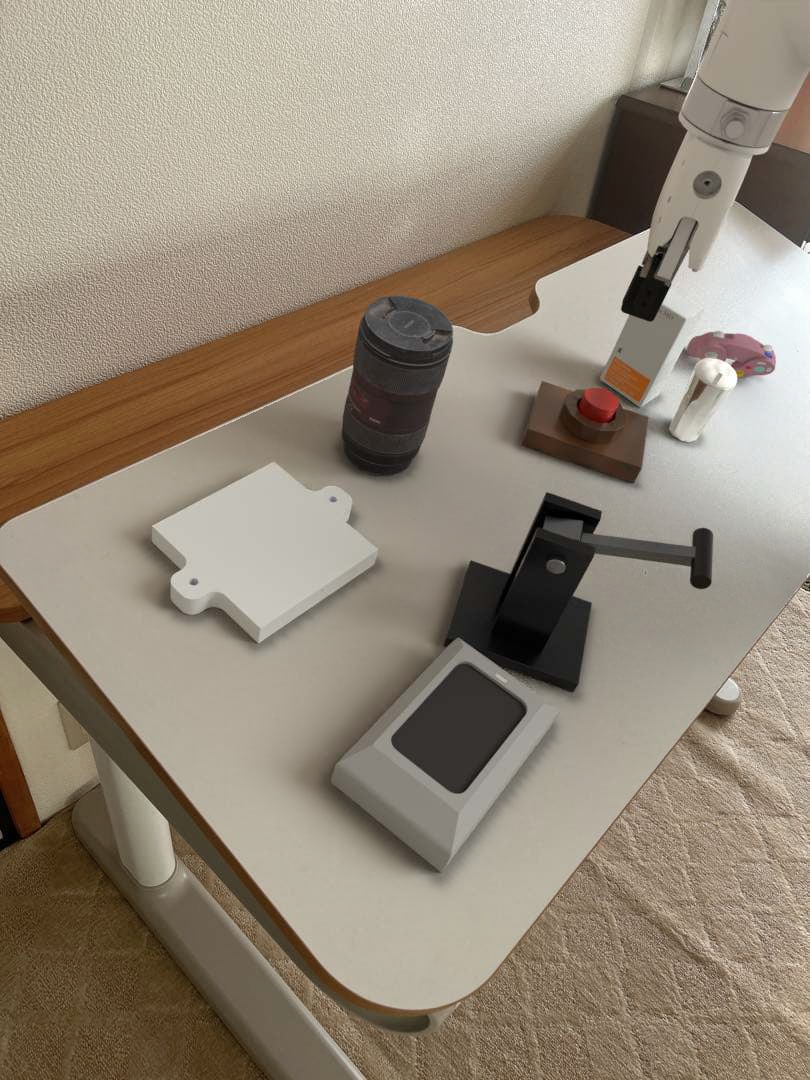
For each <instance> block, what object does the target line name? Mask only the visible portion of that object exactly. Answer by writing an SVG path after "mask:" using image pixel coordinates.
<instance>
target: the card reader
mask: <svg viewBox="0 0 810 1080" xmlns="http://www.w3.org/2000/svg"><path fill="white" fill-rule="evenodd" d="M559 714H560V709H559V708H557V707H556V706H555V705H553V704H552V703H550V702H549V701H548V700H547V699H545V698H544V697H542V696H541V695H539V694H538V693H536V691H534V690H532V689H531V688H529V686H527V685H525V684H524V683H523V682H522V681H520V680H519V679H518V678H515V677H514V676H513V675H512V674H510V673H509V672H508V671H506V670H505V669H503V667H501V666H498V665H496V664H495V663H493V662H492V661H491V660H489V659H488V658H486V657H485V656H484V655H482V654H481V653H479V652H478V651H477V650H475V649H474V648H472V647H471V646H470V645H468V644H467V643H466V642H464V641H463V640H461V639H460V638H457V639H455V640H454V641H453V642H452V643H451V644H450V645H449V646H448V647H446V648H444V650H443V651H441V653H440V654H439V655H438V656H437V657H436V658H435V659H434V660H433V661H432V662H431V663H430V664H429V666H428V667H427V668H426V669H425V670H424V671H423V672H422V673H421V674H420V675H419V676H418V677H417V678H416V679H415V680H414V681H413V683H412V684H410V686H408V687H407V689H406V690H405V691H404V692H403V693H402V694H401V695H400V696H399V697H398V698H397V699H396V700H395V702H393V703H392V705H390V707H388V709H386V711H385V712H384V713H383V714H382V715H381V716H380V717H379V718H378V719H377V720H376V721H375V723H373V725H372V726H371V727H370V728H369V729H368V730H367V731H366V732H365V733H364V734H363V735H362V736H361V737H360V738H359V739H358V740H357V741H356V743H355V744H354V745H353V746H352V747H351V748H350V749H349V750H348V751H347V752H346V753H345V754H344V755H343V756H342V757H341V759H339V760H338V761H337V763H336V764H335V765H334V768H333V772H332V775H331V778H330V780H329V781H330V784H332V785H333V786H334V787H336V788H337V790H340V791H341V792H342V793H343V794H344V795H345V796H347V797H348V798H349V799H350V800H351V801H353V802H354V803H355V804H356V805H357V806H359V807H360V808H361V809H362V810H363V811H365V812H366V813H367V814H368V815H370V816H371V817H372V818H373V819H374V820H376V821H377V822H378V823H380V824H381V825H382V826H383V827H384V828H386V829H387V830H388V831H389V832H390V833H392V834H393V835H394V836H396V837H397V838H398V839H399V840H400V841H402V842H403V843H404V844H405V845H406V846H408V847H409V848H410V849H411V850H412V851H414V852H415V853H416V854H418V855H419V856H420V857H421V858H422V859H424V860H425V861H426V862H427V863H428V864H430V865H431V866H432V867H433V868H434V869H436V870H437V871H438V872H439V873H441V874H442V873H443V872H444V870H445V869H446V867H447V866H449V864H450V862H451V861H452V859H453V858H454V857H455V855H457V853H458V851H459V850H460V849H461V848H462V846H463V845H464V844H465V842H466V841H467V840H468V838H469V837H470V835H472V833H473V832H474V831H475V828H477V826H478V825H479V823H480V822H481V820H483V818H484V817H485V815H486V814H487V813H488V811H489V810H490V808H491V807H492V806H493V805H494V803H495V802H496V800H497V799H498V798H499V796H501V794H502V793H503V791H504V790H505V789H506V787H507V786H508V785H509V783H510V782H511V780H512V779H513V778H514V777H515V775H516V774H517V772H518V771H519V770H520V769H521V767H522V766H523V765H524V764H525V762H526V760H527V759H528V758H529V756H530V755H531V753H532V752H533V751H534V750H535V748H536V747H537V746H538V744H539V743H540V741H541V740H543V738H544V736H545V735H546V734H547V732H548V731H549V730H550V728H551V727H552V725H553V724H554V722H555V721H556V718H558V716H559Z"/></svg>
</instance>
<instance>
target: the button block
mask: <svg viewBox="0 0 810 1080" xmlns="http://www.w3.org/2000/svg"><path fill="white" fill-rule="evenodd" d="M587 389H588V388H577V389H574V390H571V389H568V388H565V387H563V386H560V385H556V384H554V383H551V382H547V381H544V380H541V382H540V384H539V387H538V390H537V392H536V394H535V398H534V401H533V405H532V408H531V411H530V415H529V418H528V422H527V425H526V428H525V432H524V435H523V439H522V441H521V445H522V446H524V447H525V448H526V447H527V448H530V449H532V450H535V451H538V452H540V453H544V454H547V455H550V456H552V457H555V458H559V459H561V460H564V461H567V462H570V463H573V464H576V465H579V466H582V467H585V468H587V469H590V470H593V471H596V472H599V473H601V474H605V475H608V476H611V477H614V478H616V479H618V480H619V479H620V480H622V481H625V482H628V483H631V484H635V482H636V480H637V479H638V477H639V475H640V473H641V471H642V468H643V462H644V456H645V448H646V441H647V432H648V424H649V416H646V415H644V414H641V413H638V412H636V411H632V410H629V409H626V408H624V407H623V406H622V404H621V403H620V402H619V401H618V407H617V409H616V411H615V413H614V415H613V417H612V419H611V420H610V421H609V422H606V423H598V422H596V421H593V420H590V419H588V418H587V417H585V416H584V415H583V414H581V412H580V411H579V404H580V401H581V399H582V397H583V395H584V392H585V391H586V390H587Z"/></svg>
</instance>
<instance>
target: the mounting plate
mask: <svg viewBox="0 0 810 1080" xmlns="http://www.w3.org/2000/svg"><path fill="white" fill-rule="evenodd" d="M353 501H354V500H353V498H352V497H351V496H350V495H349V494H348V493H347V492H346V491H345V490H344V489H342V488H341V487H339V486H336V485H327V486H324V487H322V488H321V489H319V490H311V489H307V487H305V486H304V485H302V484H301V483H300V482H299V481H298V480H297V479H295V478H294V477H293V476H292V475H291V474H290V473H288V472H287V471H286V470H285V469H283V468H282V467H281V466H280V465H279V464H278V463H276V462H275V461H272V462H270V463H269V464H267V465H265V466H263V467H261V468H258V469H257V470H255V471H253V472H252V473H250V474H248V475H245V476H244V477H242V478H240V479H238V480H236V481H234V482H232V483H230V484H229V485H227V486H225V487H223V488H221V489H219V490H217V491H215V492H214V493H211V494H210V495H207V496H206V497H204V498H202V499H200V500H198V501H196V502H195V503H193V504H190V505H189V506H187V507H185V508H183V509H181V510H179V511H178V512H175V513H173V514H172V515H169V516H167V517H166V518H164V519H162V520H159V522H156V523H154V524H153V525H151V542H152V543H153V544H154V545H155V546H156V548H158V550H159V551H160V552H162V553H163V555H165V556H166V557H167V558H168V559H169V560H170V562H172V563H173V564H174V565H176V567H177V568H178V569H179V570H178V571H176V572H175V573H173V574H172V576H171V578H170V597H169V598H170V601H171V602H172V604H174V605H175V607H177V609H179V611H181V612H182V613H183V614H186V615H189V616H194V615H198V614H200V613H203V612H205V610H207V609H210V608H217V609H221V610H222V611H224V613H226V615H228V616H229V617H230V618H231V619H232V620H233V621H234V623H236V624H237V625H238V626H239V627H240V628H241V629H242V630H243V631H244V632H245V633H247V634H248V635H249V636H250V638H252V639H253V640H254V641H255V642H256V643H257V644H260V643H261V642H263V641H264V640H266V639H267V638H269V637H271V636H272V635H273V634H275V633H276V632H278V631H279V630H281V629H282V628H283V627H285V626H286V625H288V624H289V623H291V622H292V621H294V620H295V619H296V618H298V617H300V616H301V615H303V614H304V613H305V612H307V611H308V610H310V609H311V608H313V607H314V606H316V605H318V603H321V601H323V600H324V599H326V598H328V597H329V596H330V595H332V594H333V593H335V592H336V591H338V590H339V589H341V588H342V587H344V586H346V585H347V584H348V583H350V582H351V581H352V580H355V578H357V577H358V576H360V575H361V574H362V573H364V572H366V571H367V570H368V569H370V568H371V567H373V566H375V563H376V560H377V557H378V552H379V549H378V548H377V547H376V546H375V545H374V544H373V543H371V542H370V541H369V540H368V539H367V538H365V536H363V535H362V534H361V533H359V532H358V531H357V530H356V529H355V528H354V527H352V526H351V525H350V524H349V523H347V522H348V521H349V519H350V514H351V510H352V506H353Z"/></svg>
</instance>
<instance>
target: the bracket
mask: <svg viewBox="0 0 810 1080" xmlns="http://www.w3.org/2000/svg"><path fill="white" fill-rule="evenodd" d="M602 513H603V511H602V510H600V509H597V508H595V507H591V506H588V505H586V504H583V503H580V502H577V501H574V500H572V499H568V498H565V497H563V496H559V495H557V494H554V493H551V492H549V491H546V492H545V494H544V496H543V498H542V500H541V503H540V505H539V507H538V509H537V512H536V514H535V516H534V518H533V520H532V523H531V525H530V527H529V529H528V531H527V533H526V536H525V537H524V540H523V542H522V544H521V547H520V549H519V552H518V554H517V556H516V558H515V560H514V562H513V565H512V567H511V569H510V572H506V571H503V570H500V569H498V568H494V567H491V566H490V565H487V564H483V563H480V562H477V561H475V560H471V559H470V560H469V562H468V564H467V565H468V566H467V568H466V571H465V574H464V577H463V580H462V584H461V587H460V590H459V593H458V597H457V600H456V603H455V606H454V609H453V612H452V616H451V619H450V622H449V626H448V629H447V631H446V635H445V637H444V641H443V644H442V646H443V647H446V648H447V647H448V646H449V645H450V644H451V643H452V642H453V641H454V640H455V639H457V638H460V639H461V640H463V641H464V642H466V643H467V644H468V645H470V646H471V647H472V648H474V649H475V650H477V651H478V652H479V653H481V654H482V655H484V656H485V657H486V658H488V659H489V660H491V661H492V662H493V663H495V664H496V665H498V666H499V667H500V668H504V669H507V670H510V671H512V672H515V673H518V674H521V675H523V676H527V677H529V678H532V679H535V680H538V681H541V682H543V683H546V684H550V685H551V686H555V687H557V688H560V689H563V690H566V691H567V692H568V691H569V692H571V693H574V692H575V691H576V689H577V688H578V686H579V685H580V678H581V672H582V666H583V659H584V654H585V648H586V642H587V635H588V630H589V624H590V623H589V622H590V618H591V612H592V610H591V609H592V605H593V602H591V601H588V600H585V599H582V598H580V597H578V596H574V595H575V593H576V590H577V588H578V587H579V585H580V583H581V581H582V580H583V578H584V576H585V574H586V572H587V570H588V568H589V567H590V565H591V563H592V561H593V559H594V557H595V555H596V554H595V549H596V548H595V547H594V546H591V545H588V544H585V543H582V542H579V541H577V540H574V539H571V538H568V537H565V536H562V535H559V534H556V533H554V532H551V531H548V530H545V529H543V525H544V521H545V517H546V516H550V517H558V518H566V519H574V520H582V521H583V531H582V533H590V534H595V531H596V529H597V527H598V526H599V523H600V521H601V520H602Z"/></svg>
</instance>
